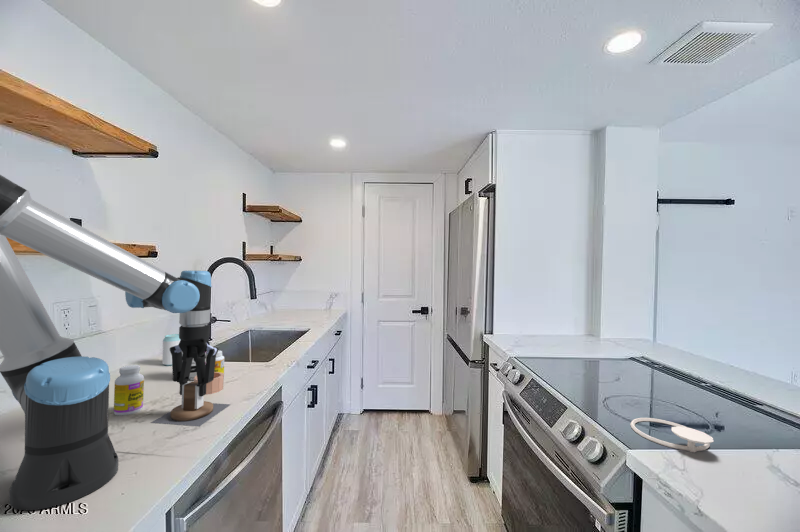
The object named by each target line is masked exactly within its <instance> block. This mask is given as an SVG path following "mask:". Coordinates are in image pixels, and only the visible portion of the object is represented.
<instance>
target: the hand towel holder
mask: <svg viewBox="0 0 800 532" xmlns="http://www.w3.org/2000/svg"><path fill="white" fill-rule="evenodd" d="M641 422H649V423H650V422H651V423H658V424H664V425H669V426H671V432H672V433H673V434H674V435H676V436H677V437H679V438H680V439H682V440H685V441H687V443H686V444H687V445H681V444H677V443H673V442H668V441H666V440H665V441H664V440H663V439H662V440H661V439H659V438H656V437H653V436H650V435H649V434H646V433H645V432H643V431H641V430H640V429H638V428H637V427H636V424H637V423H641ZM629 425H630V427H631V429H632V430H633V431H634V432H635V433H636V434H637V435H638V436H641V437H643V438H644V439H647V440H648V441H651V442H653V443H655V444H657V445H661V446H664V447H668V448H671V449H677V450H681V451H686V452H687V451H688V452H691V453H697V452H702V451H706V450H707V449H708V448H710V447H711V446H710V445H711V444H712V443H714V438H713V437H712V436H711V435H709V434H708V433H705V432H703V431H701V430H697V429H694V428H692V427H688V426H685V425H682V424H679V423H676V422H673V421H668V420H664V419H659V418H653V417H639V418H634V419H632V420H631V422H630V424H629ZM696 444H702V445H698V446H696Z"/></svg>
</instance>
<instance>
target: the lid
mask: <svg viewBox="0 0 800 532" xmlns="http://www.w3.org/2000/svg"><path fill="white" fill-rule="evenodd" d="M189 382H190V383H188V384H186V385H184V403H183V408H182V404H179V405H177V406H175V407H173V408H172V409H171V416H170V417H171V418H172V419H173V420H177V421H188V420H194V419H198V418H202V417H204V416H207V415H208V414H210V413H211V412H212V411H213V404H212V403H213V402H210V401H206V400H204V404H203V406H201V407H200V408H198V409H195V386H196V385H197V384H198V382H194V381H189Z"/></svg>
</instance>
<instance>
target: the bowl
mask: <svg viewBox="0 0 800 532" xmlns="http://www.w3.org/2000/svg"><path fill="white" fill-rule="evenodd" d="M224 377H225V372H224V373H221V372H214V379H213V381H211V382H209V383H207V384H206V395H212V394H216V393H219V392H222V391H223V390H224V380H225V379H224ZM193 382H198V380H197V376H195V377H194V380H193Z"/></svg>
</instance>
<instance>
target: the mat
mask: <svg viewBox="0 0 800 532" xmlns="http://www.w3.org/2000/svg"><path fill="white" fill-rule="evenodd" d="M211 403H212V404H213V411H212V412H211V413H210V414H208V415H207V416H204V417H202V418H198V419H194V420H188V421H177V420H173V419H172V418H171V417H170V416H171V411H168V412H166V413H165V414H163V415H162V416H160V417H157V418H156V419H154V420H153V421H151V422H150V424H160V425H174V426H175V425H176V426H189V427H199V428H200V427H201V426H202V425H204V424H205V423H207V422H208V421H210V420H211V419H212V418H214V417H215V416H217V415H218V414H220V413H221V412H223V411H224V410H225V409H227V408H228V407H229V406H231V403H229V404H228V403H216V402H211Z"/></svg>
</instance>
